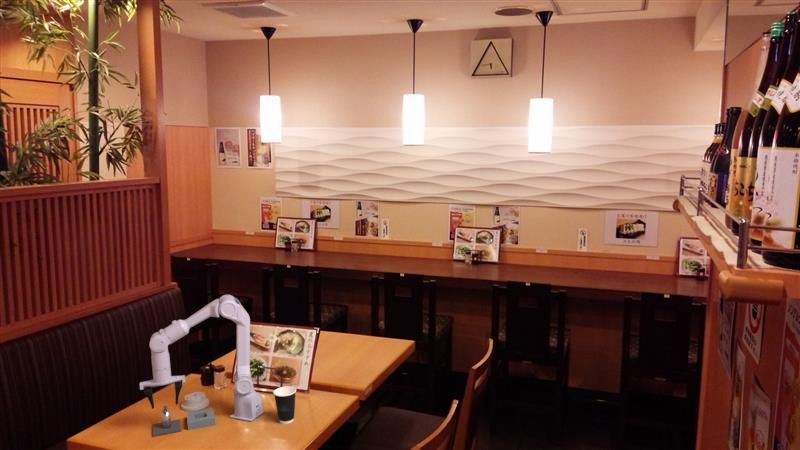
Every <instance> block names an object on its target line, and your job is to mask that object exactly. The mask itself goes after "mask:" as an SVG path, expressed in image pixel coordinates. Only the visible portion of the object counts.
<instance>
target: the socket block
mask: <svg viewBox="0 0 800 450" xmlns="http://www.w3.org/2000/svg"><path fill="white" fill-rule="evenodd" d="M214 411H215V410H214V407H211V408H203V409H201V410H197V411H187V412H186V420H187V421H186V422H187V429H188V431H190V430H196V429H201V428H205V427H210V426H215V425H216V416H215V413H214Z"/></svg>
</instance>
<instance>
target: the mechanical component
mask: <svg viewBox="0 0 800 450" xmlns="http://www.w3.org/2000/svg"><path fill="white" fill-rule="evenodd" d="M183 400H184V401H183V402H182V403H181V404H180V405H181V410H183V411H185V412H194V411H199V410H204V409H206V408H207V407H208V406H209V405H210V399H209V398H207V397H206V393H205V392H203V391H194V392H190V393H187V394H185V395H184V397H183Z"/></svg>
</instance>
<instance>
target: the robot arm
mask: <svg viewBox="0 0 800 450" xmlns="http://www.w3.org/2000/svg"><path fill="white" fill-rule="evenodd" d="M220 316H221V317H223V318H225V319H228V320H231V321H232V322H233V323H234V324H236V357H235V358H236V364H235V372H234V374H233V377H232V380H233V383H234V389H233V392H232V393H233V403H234V404H233V405H234V413H232V414H230V415H229V418H231V419H237V420H241V421H247V422H253V421H254V420H255V419H256V418H258V417H259V416H261V415H262V414H263V413H265V411H264V410H263V409H264V408H263V397H262V395H261V393H259V392H257V391H256V390H255V388H254V383H253V380H252V375H251V365H250V364H251V363H250V362H251V359H250V358H251V318H250V315H249V313H248V312H247V310H246V309H245V308H244V306H243V305H242V304H241V302H240V300H239V299H238V298H237V297H235V296H233V295H231V294H224V295H221V296H220V297H219V298H216V299H215V300H212V301H211V302H210V303H208V304H206V305H204V307H202V308H201V309H199V310H198V311H196V312H195V313H193V314H192V315H190V316H189V317H188V318H186V319H178V320H176V319H175V320H172V322H171V324H169V325H168V326H166V327H164V328H160V329H159V331H157V332H154V333H153V334H152V335H151V337H150V340H149V348H150V354H151V356H150V358H151V367H152V369H151V370H152V377H153V379H150V380H146V381H140V382H139V390H140V391H142V390H143V394H144V395H145V396H146V397H147V400H148V401H149V403H150V407H151V409H154V408H155V402H154V401H155V400H154V396H153V395H154V394H153V388H155V387H160V386H167V385H174V393H175V405H178V404H179V397H180V394H181V390H182V387H183V383H184V384H185V383H186V375H185V374H184V375H172V371H171V360H170V359H171V358H170V357H171V356H170V353H169V345H172V344H173V343H175V342H177V341H178V340H180V339H181V338H184V337H185V336H187V335H188V334H189V332H190V329H191V328H192V327H194V326H196V325H198V324H200V323H202V322H204V321H205V320H207V319H209V318H210V317H212V318H220Z"/></svg>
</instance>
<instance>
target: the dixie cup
mask: <svg viewBox="0 0 800 450" xmlns="http://www.w3.org/2000/svg"><path fill="white" fill-rule="evenodd" d="M296 392H297V388H296V387H293V386H281V387H278V388H276V389H274V390H273V392H272V394H273V395H274V400H275V406H276V411H277V413H276V414H277V416H278V420H279V423H280V424H283V425H287V424H291V423H293V422H294V418H295V408H296V407H295V406H296Z"/></svg>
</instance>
